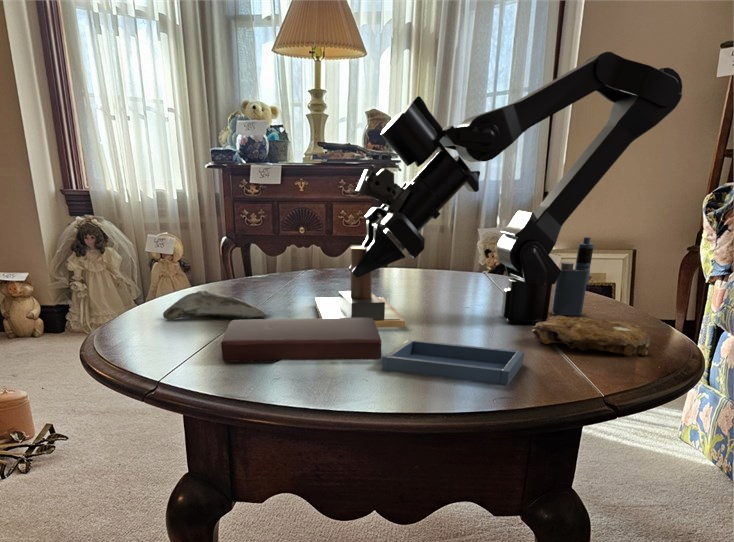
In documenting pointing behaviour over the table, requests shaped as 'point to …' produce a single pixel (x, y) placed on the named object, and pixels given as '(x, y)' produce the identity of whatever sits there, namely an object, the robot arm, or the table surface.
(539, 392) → the table surface
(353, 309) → the eraser
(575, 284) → the vaping device
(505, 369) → the tray
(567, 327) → the decorative rock
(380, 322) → the board
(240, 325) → the book
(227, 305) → the fossil
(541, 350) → the table surface
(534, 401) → the table surface
